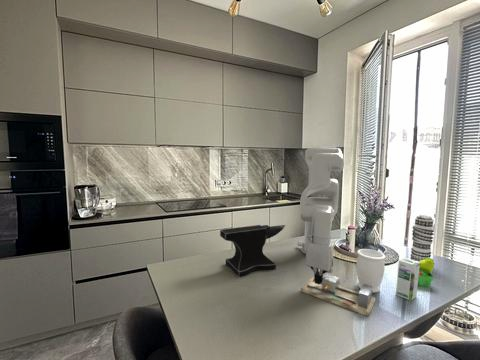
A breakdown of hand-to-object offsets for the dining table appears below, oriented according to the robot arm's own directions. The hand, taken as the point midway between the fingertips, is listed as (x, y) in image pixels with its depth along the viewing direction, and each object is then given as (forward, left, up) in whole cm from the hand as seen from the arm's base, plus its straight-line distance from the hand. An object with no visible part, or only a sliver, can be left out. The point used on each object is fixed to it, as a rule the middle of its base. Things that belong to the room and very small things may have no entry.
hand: (318, 282), depth 103 cm
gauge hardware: (+8, 0, -2) cm, 8 cm away
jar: (+16, +15, -3) cm, 22 cm away
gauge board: (+8, 0, -3) cm, 8 cm away
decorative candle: (+32, +60, -3) cm, 68 cm away
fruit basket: (+33, +36, -3) cm, 49 cm away
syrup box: (+29, +18, -3) cm, 34 cm away
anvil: (-32, +1, -3) cm, 32 cm away
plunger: (+5, -2, -1) cm, 5 cm away
